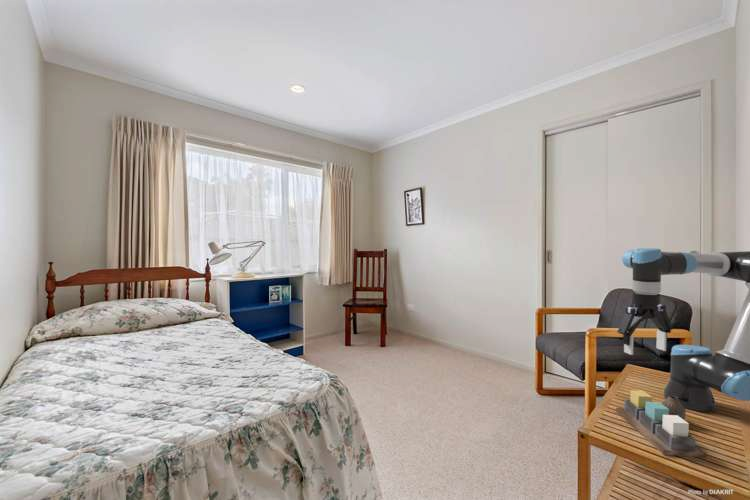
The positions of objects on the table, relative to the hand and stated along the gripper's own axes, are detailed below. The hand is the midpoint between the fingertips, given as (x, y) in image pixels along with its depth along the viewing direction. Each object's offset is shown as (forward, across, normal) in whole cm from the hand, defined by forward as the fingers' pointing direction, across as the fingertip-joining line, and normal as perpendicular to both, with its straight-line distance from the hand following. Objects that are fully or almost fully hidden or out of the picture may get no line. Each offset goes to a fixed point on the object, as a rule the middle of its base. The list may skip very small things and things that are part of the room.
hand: (644, 351), depth 113 cm
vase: (+28, -14, -1) cm, 32 cm away
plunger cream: (+23, +1, +11) cm, 26 cm away
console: (+28, -1, +3) cm, 28 cm away
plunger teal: (+23, -1, +3) cm, 23 cm away
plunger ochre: (+23, -4, -4) cm, 24 cm away
